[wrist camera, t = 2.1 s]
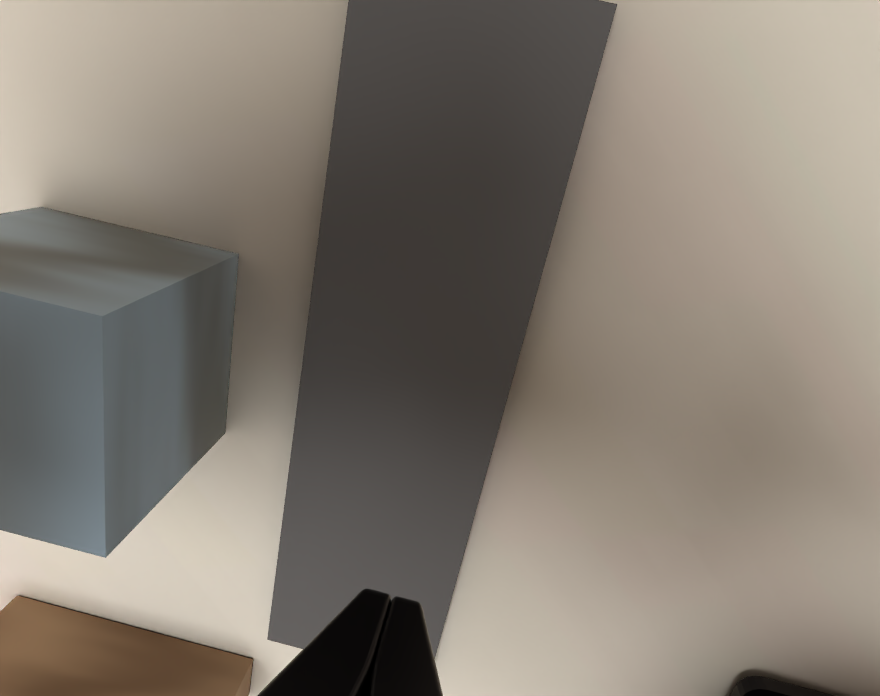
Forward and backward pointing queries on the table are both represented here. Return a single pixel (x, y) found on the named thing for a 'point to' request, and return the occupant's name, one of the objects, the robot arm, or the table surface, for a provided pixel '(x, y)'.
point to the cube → (105, 372)
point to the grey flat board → (424, 287)
